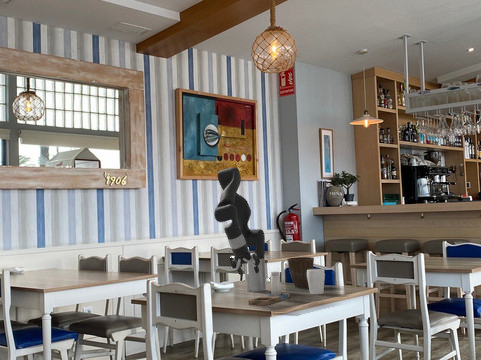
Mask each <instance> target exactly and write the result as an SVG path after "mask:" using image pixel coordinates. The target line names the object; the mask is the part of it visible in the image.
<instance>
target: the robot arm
mask: <svg viewBox="0 0 481 360" xmlns="http://www.w3.org/2000/svg"><path fill="white" fill-rule="evenodd" d="M217 181H218V182H219V186H220V187H221V189H222V192H221V193H220V198H219V202H218V203H217V205H216V207H215V209H214V213H213V215H214V219H215V220H216V222H218V223H224V222H227V221H231V222H229V223H227V225H225V226H224V228H223V229H224V233H225V235H226V237H227V240H228V241H227V242H228V245H229V246H230V250H231V251H232V254H233V255H230V257H229V259H228V260H229V262H230V264H231V268H232V269H235V270H237V273H238V275H239V276H243V274H244V271H243V268H242V266H241V265H243V264H247V273H246V286H247V292H251V293H253V292H257V293H258V292H265V291H267V284H266V281H267V280H266V265H265V264H266V261H265V253H266V251H265V250H266V248H265V247H266V246H265V245H266V238H265V237H266V236H265V232H264V230H263V229H261V228H260V229H258V228H257V229H256V228H255V229H251V228H250V227H249V225H248V224H249V221H250V218H251V215H252V209H251V207H250V204H249V202H248V200H247V199H246V198H245V197H243V196H242V195H241V194H239V193H237V192H238V190H239V188H240V185H241V183H242V182H241V181H242V177H241V173H240V170H239V168H238V167H235V166H233V167H230V168H229V167H228V168H224V169H221V170H219V171H218V172H217ZM249 247H255V249H254V251H252V252H250V249H249ZM236 261H237V263H236Z"/></svg>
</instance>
